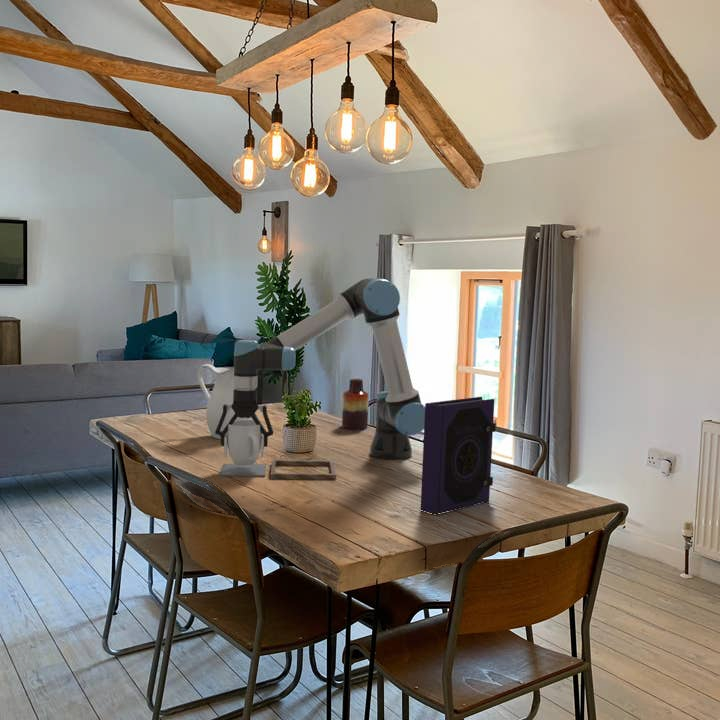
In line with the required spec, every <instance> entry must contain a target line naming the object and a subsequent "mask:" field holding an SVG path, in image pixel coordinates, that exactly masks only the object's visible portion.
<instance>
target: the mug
mask: <svg viewBox="0 0 720 720" xmlns="http://www.w3.org/2000/svg"><path fill="white" fill-rule="evenodd" d="M228 423H229V422H228ZM228 423H227V424H228ZM261 424H262V422H261ZM262 425H263V424H262ZM262 436H263V434H262V433H261V431H260V425H256V423H255V422H254V420H253V419H250V420H236V421H234V423H233V424H232V425H230V424H228V431H227V451H228V455H229V457H230V459H231V460H232V462H233V464H237V465H250V464H256V461H257V460H258V458H259V455H260V453H261V438H262Z"/></svg>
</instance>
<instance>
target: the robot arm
mask: <svg viewBox="0 0 720 720" xmlns="http://www.w3.org/2000/svg"><path fill="white" fill-rule="evenodd" d="M400 302H401V295H400V292H399V290H398V287H397V286H396V284H394V283H393V282H392V281H389V280H387V279H384V278H364V279H361V280H359V281H357V282H356V283H354V284H352V285H351V286H350V287H348V288H347V289H346V290H343V291H342V292H341V293H339V294H338V295H337V298H336V299H335V300H333V301H332V302H330V303H329V304H327V305H326V306H324V307H322V308H321V309H319V310H317V311H316V312H313V314H310V315H309V316H307V317H306V318H305V319H302V320H301V321H299V322H297V323H296V324H295V325H293V326H291V327H289V328H288V329H287V330H285V331H283V332H282V333H280V334H278V335H277V336H275V337H273V338H272V339H269V340H268V341H265V342H264V341H263V342H261V343H260V344H259V342H258V341H257V340H253V339H239V340H236V341H235V343H234V352H233V368H234V388H235V389H234V390H233V404H232V405H227V404H224V406H223V413H222V416H221V418H220V421H219V424H218V426H217V429H216V431H215V434H218V435H220V436H221V439H220V446H221V447H223V457H224V458H227V457H228V441H227V435H225V434H226V433H227V431H228V424H230V425H232V424H233V423H234V421H235V420H236V419H237V417H239V418H244V417H245V418H250V419H251V420H253V421H254V422H255V423H256V425H260V431H261V433H262V438H261V448H260V458H261V459H264V457H265V453H264V452H265V450H264V449H265V448H267V447H268V439H269V437H271V436H273V435H274V430H273V426H272V422H271V420H270V417H269V415H268V412H267V411H268V410H267V404H262V405H260V404H258V389H257V388H258V381H259V380H258V379H259V377H258V372H259V371H283V372H284V371H291V370H293V369H294V368H295V367H296V360H297V358H296V357H297V355H296V351H297V350H299V349H301V348H302V347H304V346H306V345H307V344H309V343H310V342H312V341H314V340H315V339H317V338H318V337H320V336H321V335H323V334H325V333H326V332H328V331H330V330H331V329H332V328H333V329H334V328H335V327H336V326H338V325H339V324H341V323H342V322H345V320H347V319H354V318H356V317H358V316H360V315H362V314H363V317H364V321H365V324H367V325H368V326H370V327H371V330H372V333H373V337H374V342H375V345H376V350H377V354H378V358H379V360H380V361H379V362H380V366H381V370H382V374H383V378H384V381H385V385H386V389H387V391H379V392H378V393H377V395H376V400H375V407H376V408H375V431H374V432H375V433H374V436H373V438H372V442H371V444H370V447H369V455H371V456H373V457H375V458H381V459H386V460H400V459H401V460H402V459H407V458H411V457H412V454H413V448H412V445H411V441H410V438H409V437H410V436H415V435H418V434H420V433H421V432H422V431H424V421H425V405H424V404H422V400H421V397H420V394H419V390H418V389H415V388H414V386H413V382H412V379H411V375H410V371H409V366H408V362H407V359H406V358H407V357H406V354H405V350H404V346H403V342H402V338H401V333H400V330H399V325H398V322H397V321H398V318H399V317H400V315H401V314H400V311H399V310H400V309H399V305H400ZM231 408H232V409H233V411H234V412H235V414H234V416H233V417H232V418H231V420H230V421H229V423H228V424H227V426H226V427H225V428H224V430H223V431H220V429H221V427H222V424H223V422H224V419H225V416H226V414H227V412H228V411H229V410H230V409H231ZM258 410H260V412H261V413H262V416H263V418H264V423H265V425H266V427H267V430H268V431H267V430H266V428H265V427H264V425H263V424H261V423H262V422H261V421H260V419H259V417H258V416H257V414H256V412H257V411H258Z"/></svg>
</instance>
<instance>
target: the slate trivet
mask: <svg viewBox="0 0 720 720" xmlns="http://www.w3.org/2000/svg"><path fill="white" fill-rule="evenodd" d="M266 472H267V463H254V464H250V465H237V464H235V463H223V465H222V468H221V470H220V473H219V477H248V478H249V477H250V478H251V477H253V478H256V477H259V478H264V477H266Z"/></svg>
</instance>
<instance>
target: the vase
mask: <svg viewBox="0 0 720 720" xmlns="http://www.w3.org/2000/svg"><path fill="white" fill-rule="evenodd" d="M348 384H349V387H348V390H346V391H343V393H342V394H343V395H342V412H341V413H342V419H341V421H342V422H341V427H342V428H343V429H347V430H355V431H356V430H357V431H358V430H365V429H368V425H369V424H368V423H369V421H368V419H369V395H370V394H369V392H367V391H365V390H364V380H363V379H361V378H350V379H349V383H348Z"/></svg>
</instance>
